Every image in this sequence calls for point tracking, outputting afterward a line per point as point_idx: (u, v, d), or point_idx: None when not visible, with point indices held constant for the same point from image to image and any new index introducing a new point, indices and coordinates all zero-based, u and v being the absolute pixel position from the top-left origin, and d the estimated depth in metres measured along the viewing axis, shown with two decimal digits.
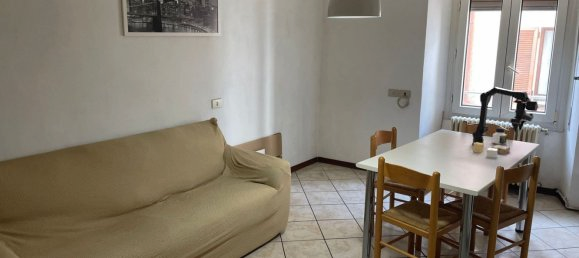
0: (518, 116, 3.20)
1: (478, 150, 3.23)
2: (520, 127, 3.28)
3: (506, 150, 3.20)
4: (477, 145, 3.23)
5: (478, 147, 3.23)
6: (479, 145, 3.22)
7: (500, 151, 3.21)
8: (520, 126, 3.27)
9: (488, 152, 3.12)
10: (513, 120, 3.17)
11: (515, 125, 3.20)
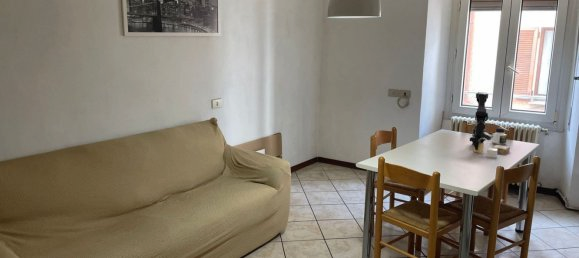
0: (477, 135, 3.22)
1: (478, 150, 3.23)
2: None
3: (506, 150, 3.20)
4: None
5: (478, 147, 3.23)
6: (479, 145, 3.22)
7: (500, 151, 3.21)
8: None
9: (488, 152, 3.12)
10: (472, 139, 3.18)
11: (476, 143, 3.22)
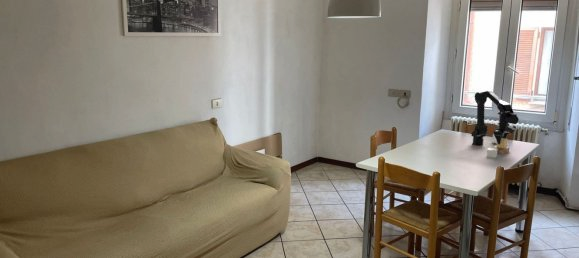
0: (501, 128, 3.19)
1: (502, 145, 3.21)
2: None
3: (506, 150, 3.20)
4: (501, 140, 3.21)
5: (502, 142, 3.21)
6: (503, 140, 3.20)
7: (500, 151, 3.20)
8: None
9: (488, 152, 3.12)
10: (496, 132, 3.16)
11: (498, 137, 3.19)
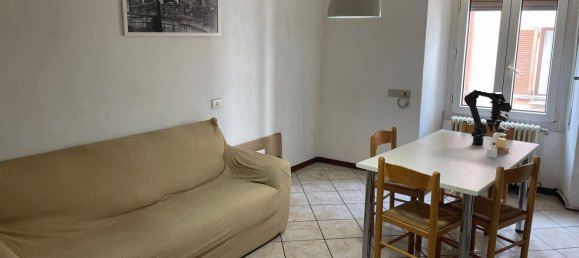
0: (494, 116, 3.28)
1: (501, 145, 3.21)
2: (496, 127, 3.35)
3: (506, 150, 3.20)
4: (500, 140, 3.21)
5: (501, 142, 3.21)
6: (502, 140, 3.20)
7: (500, 151, 3.20)
8: (496, 126, 3.35)
9: (488, 152, 3.12)
10: (488, 120, 3.24)
11: (491, 125, 3.27)
